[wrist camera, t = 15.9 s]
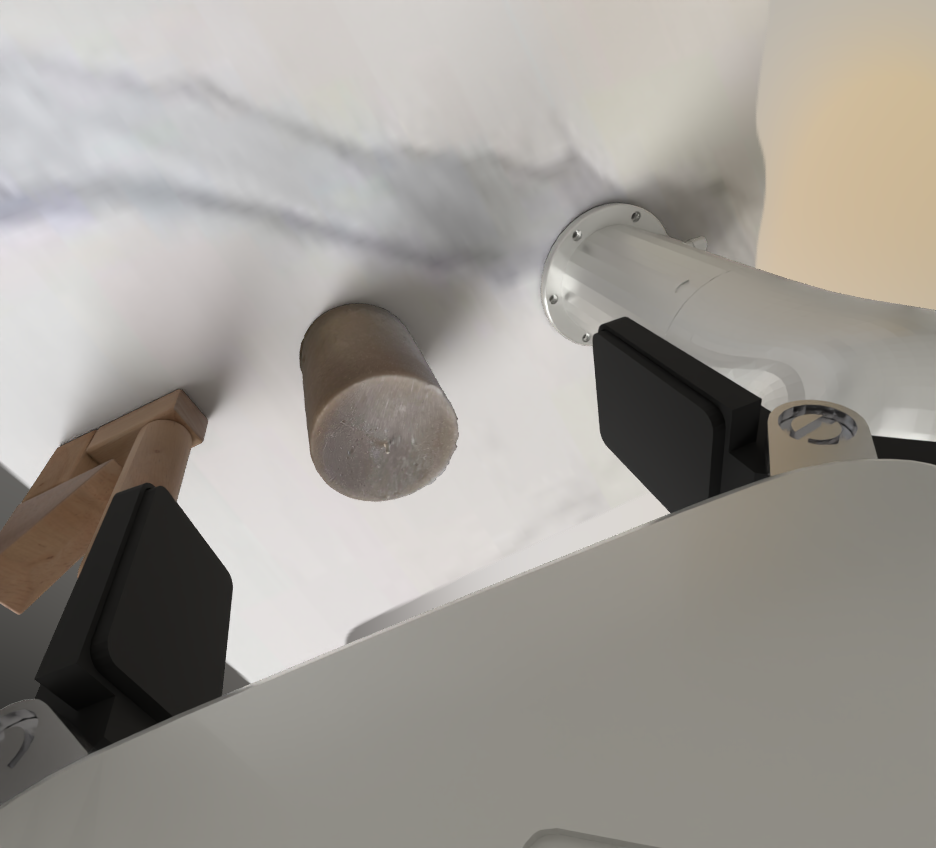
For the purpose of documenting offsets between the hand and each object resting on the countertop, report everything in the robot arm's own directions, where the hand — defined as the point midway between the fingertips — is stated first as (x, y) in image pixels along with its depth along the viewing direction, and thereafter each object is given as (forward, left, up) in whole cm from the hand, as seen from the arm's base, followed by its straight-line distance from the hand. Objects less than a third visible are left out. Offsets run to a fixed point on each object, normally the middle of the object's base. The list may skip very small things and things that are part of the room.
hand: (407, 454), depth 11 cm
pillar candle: (+1, +12, -32) cm, 35 cm away
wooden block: (+20, +12, -32) cm, 40 cm away
